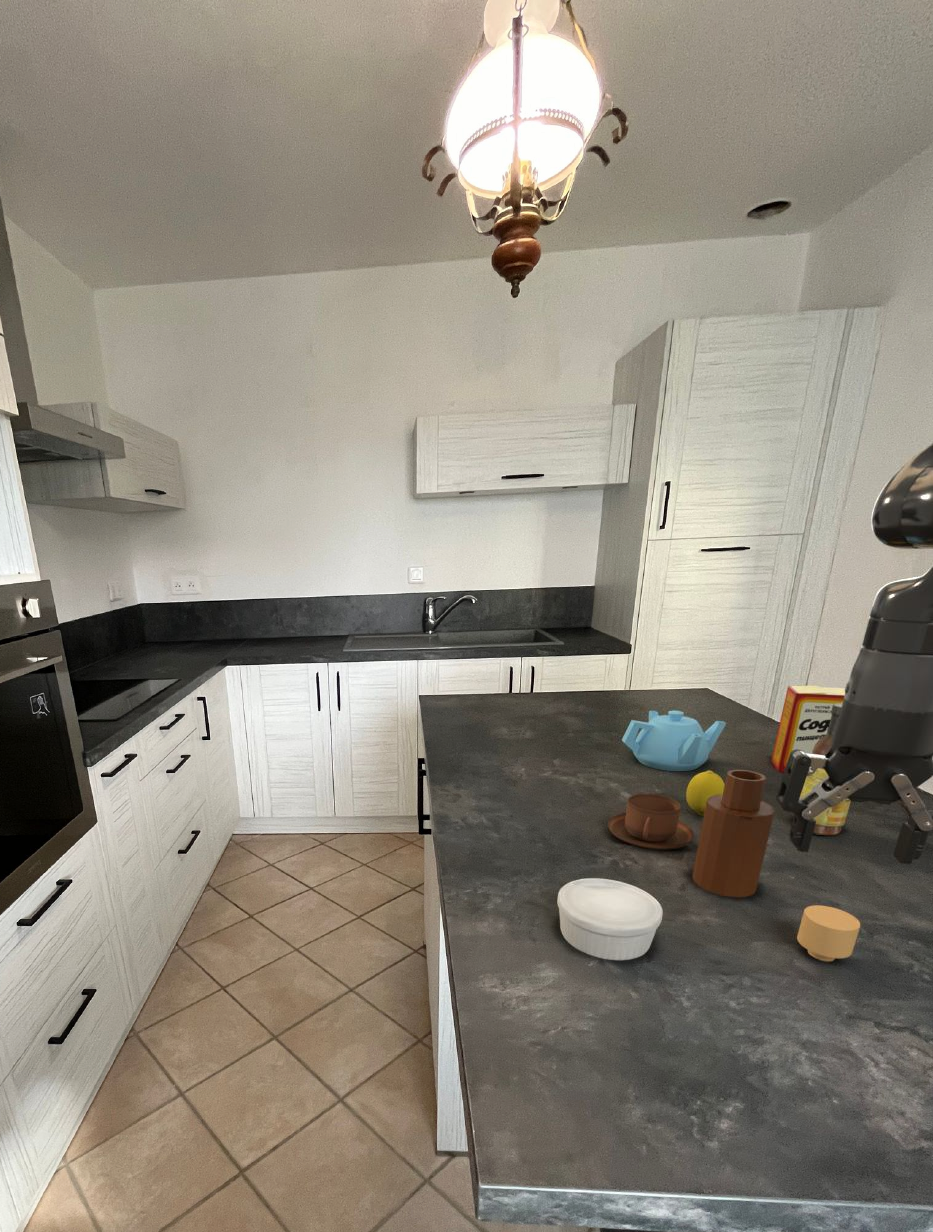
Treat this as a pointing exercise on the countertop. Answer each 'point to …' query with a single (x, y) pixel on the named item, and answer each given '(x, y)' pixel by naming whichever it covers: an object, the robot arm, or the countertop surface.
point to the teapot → (671, 741)
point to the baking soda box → (804, 720)
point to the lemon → (703, 790)
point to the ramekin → (608, 918)
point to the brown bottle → (734, 836)
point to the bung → (828, 932)
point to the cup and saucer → (651, 823)
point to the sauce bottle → (832, 816)
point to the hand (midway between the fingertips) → (850, 854)
